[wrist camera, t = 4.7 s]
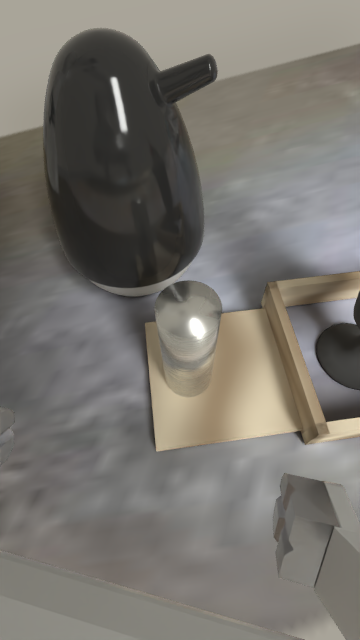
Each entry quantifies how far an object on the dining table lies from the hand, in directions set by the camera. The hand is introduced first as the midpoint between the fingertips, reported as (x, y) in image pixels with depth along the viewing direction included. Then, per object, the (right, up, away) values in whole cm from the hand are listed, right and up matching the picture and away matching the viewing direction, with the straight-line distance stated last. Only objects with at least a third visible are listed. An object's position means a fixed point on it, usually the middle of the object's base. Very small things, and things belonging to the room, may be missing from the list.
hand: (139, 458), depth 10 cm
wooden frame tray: (+8, +1, +13) cm, 15 cm away
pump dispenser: (-2, +8, +18) cm, 20 cm away
